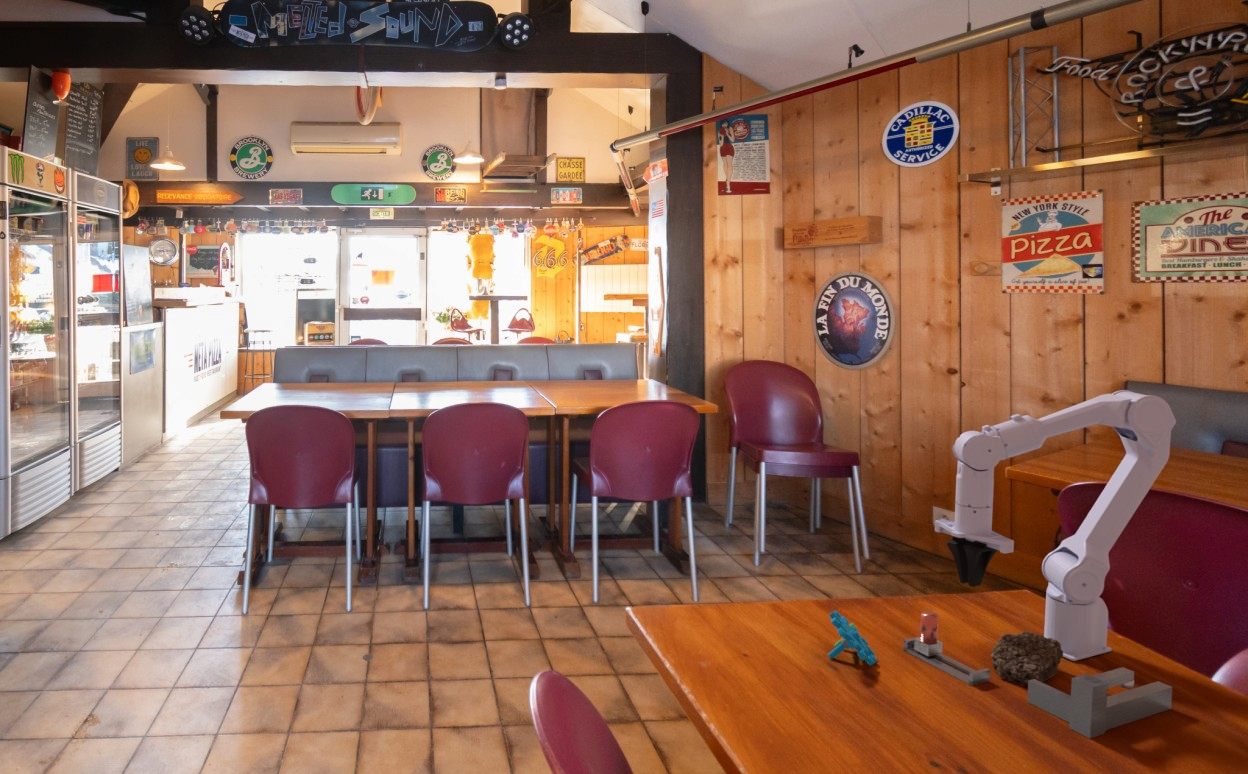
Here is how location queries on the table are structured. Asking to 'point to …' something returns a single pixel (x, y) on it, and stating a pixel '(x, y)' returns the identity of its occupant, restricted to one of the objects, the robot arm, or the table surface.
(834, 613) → the gear
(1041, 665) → the concrete sample
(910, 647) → the lever rail
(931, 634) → the lever
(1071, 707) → the grey bracket piece
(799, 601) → the table surface
